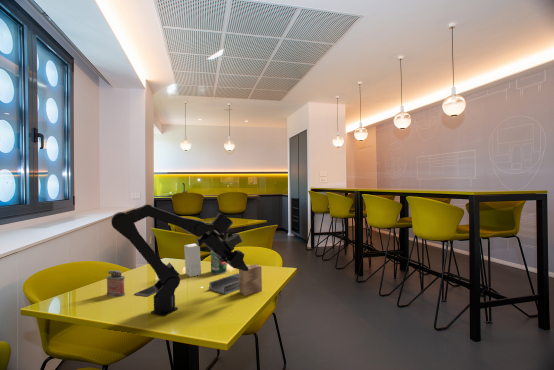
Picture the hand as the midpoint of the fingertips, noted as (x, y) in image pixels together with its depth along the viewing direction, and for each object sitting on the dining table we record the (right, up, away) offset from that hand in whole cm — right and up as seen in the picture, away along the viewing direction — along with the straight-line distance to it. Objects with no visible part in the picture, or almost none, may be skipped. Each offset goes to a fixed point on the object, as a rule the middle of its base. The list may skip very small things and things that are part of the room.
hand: (243, 267), depth 115 cm
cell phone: (-39, -12, +6) cm, 41 cm away
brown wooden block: (+3, -10, +1) cm, 11 cm away
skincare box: (-28, -12, +28) cm, 42 cm away
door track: (-6, -11, +8) cm, 15 cm away
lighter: (-52, -12, +2) cm, 54 cm away
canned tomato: (-16, -11, +31) cm, 37 cm away
